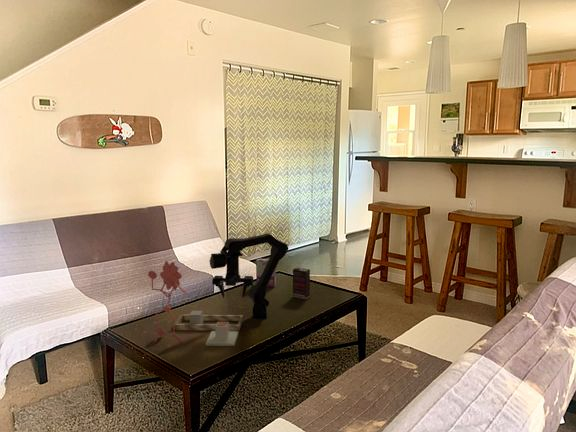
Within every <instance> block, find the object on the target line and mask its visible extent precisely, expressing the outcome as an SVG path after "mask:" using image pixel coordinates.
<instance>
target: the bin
mask: <svg viewBox="0 0 576 432" xmlns="http://www.w3.org/2000/svg"><path fill="white" fill-rule="evenodd" d="M183 321H190V314H180V315H179V317H178V318H177V320H175V321H174V330H175V331H215V326H216V324H217V323H203V324H190V323H182V322H183ZM203 321H205V322H206V321H212V322H213V321H215V322H216V321H217V322H237V324H229V331H238V332H239V331H240V329H241V326H242V325H243V321H244V315H243V314H203ZM174 330H173V331H174Z"/></svg>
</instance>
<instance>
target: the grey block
mask: <svg viewBox="0 0 576 432" xmlns="http://www.w3.org/2000/svg"><path fill="white" fill-rule="evenodd" d="M189 315H190V320H189V324H204V320H203V315H204V310H191V312H190V313H189Z"/></svg>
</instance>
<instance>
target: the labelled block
mask: <svg viewBox="0 0 576 432" xmlns="http://www.w3.org/2000/svg"><path fill="white" fill-rule="evenodd" d="M215 324H216V326H215V330H214V331H215V335H216V340H227V339H228V337H229V325H230V321H217V322H216V323H215Z"/></svg>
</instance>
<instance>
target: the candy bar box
mask: <svg viewBox="0 0 576 432" xmlns="http://www.w3.org/2000/svg"><path fill="white" fill-rule="evenodd" d="M268 260H269V258H257V259H256V260H255V269H256V270H255V272H256V274H255V275H256V276H255V277H256V278H255V279H256V281H255V282H256V284H257V283H258V281H259V279H260V277H261V275H262V273H263V271H264V269H265V267H266V265H267V262H268ZM256 284H255V285H256ZM276 286H277V267H276V268H275V270H274V272H273V275H272V277H271V279H270V281H269V283H268V285H267V287H266V288H275V287H276Z"/></svg>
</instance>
